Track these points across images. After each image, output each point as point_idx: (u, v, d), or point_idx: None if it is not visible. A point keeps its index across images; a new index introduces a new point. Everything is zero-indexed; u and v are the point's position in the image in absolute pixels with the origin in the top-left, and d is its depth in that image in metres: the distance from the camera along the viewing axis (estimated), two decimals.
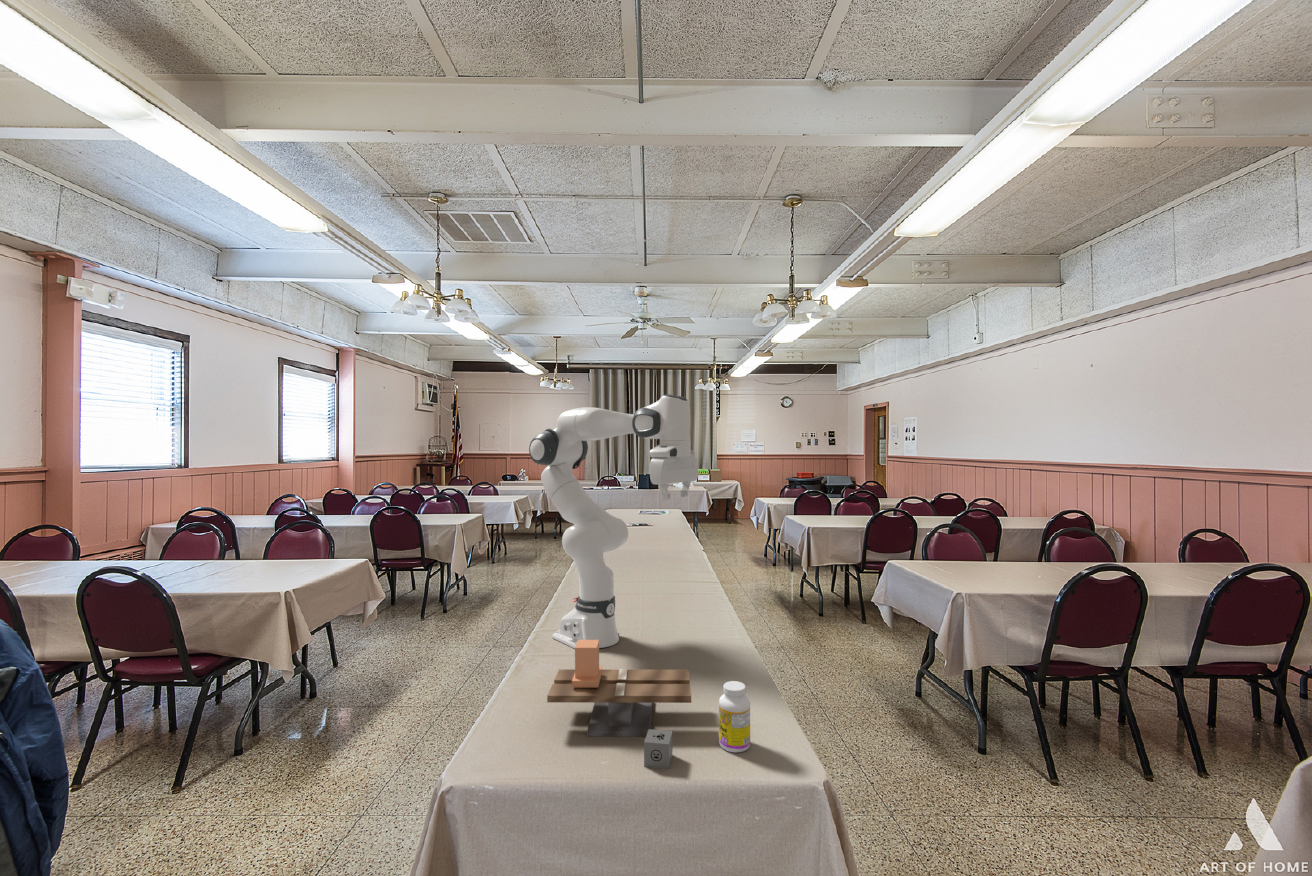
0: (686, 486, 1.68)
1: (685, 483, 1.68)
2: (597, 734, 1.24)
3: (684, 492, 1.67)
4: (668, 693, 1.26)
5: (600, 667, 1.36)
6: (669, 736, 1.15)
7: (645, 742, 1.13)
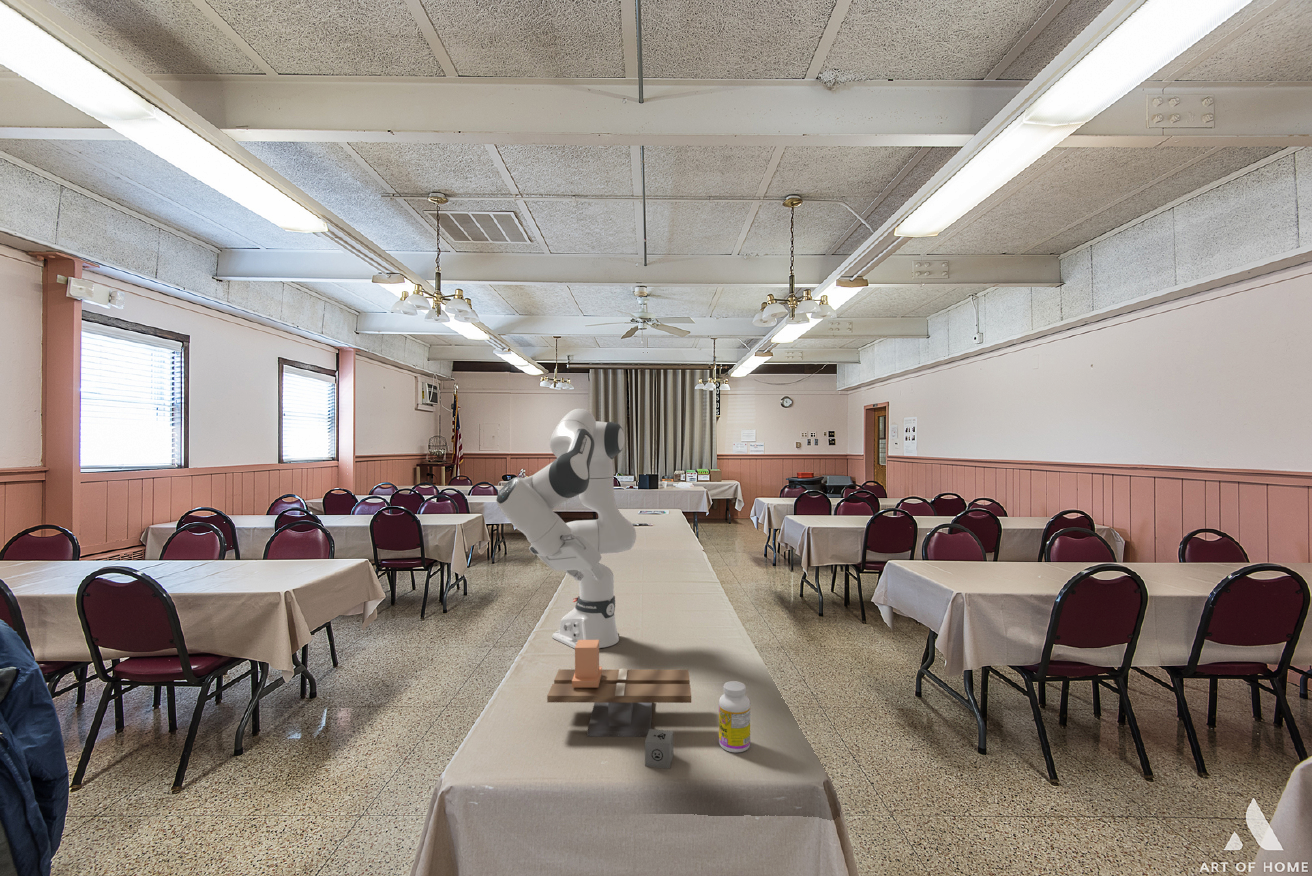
0: None
1: None
2: (597, 734, 1.24)
3: None
4: (668, 693, 1.26)
5: (600, 667, 1.36)
6: (670, 736, 1.15)
7: (646, 742, 1.13)
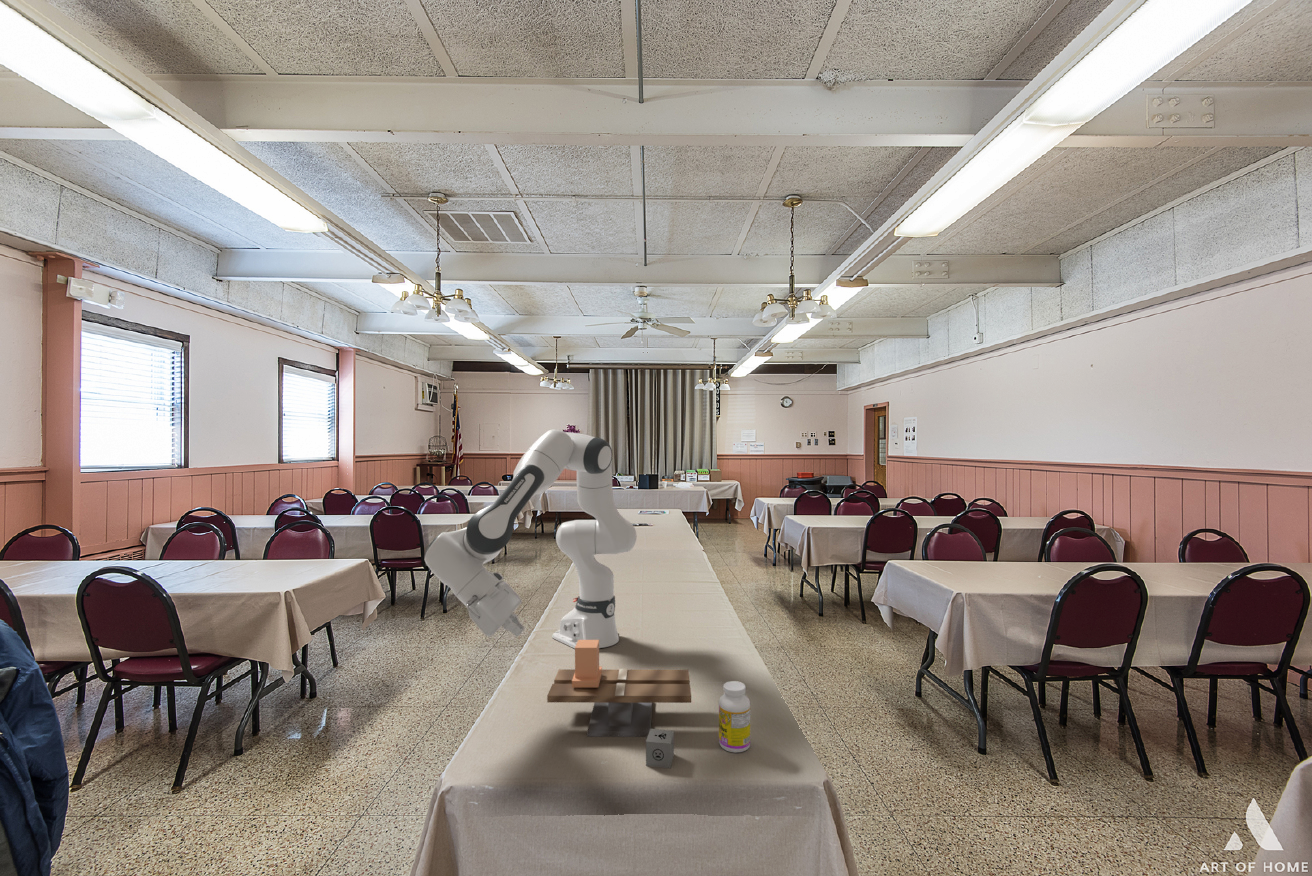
0: None
1: None
2: (597, 734, 1.24)
3: None
4: (668, 693, 1.26)
5: (600, 667, 1.36)
6: (671, 735, 1.15)
7: (647, 741, 1.13)
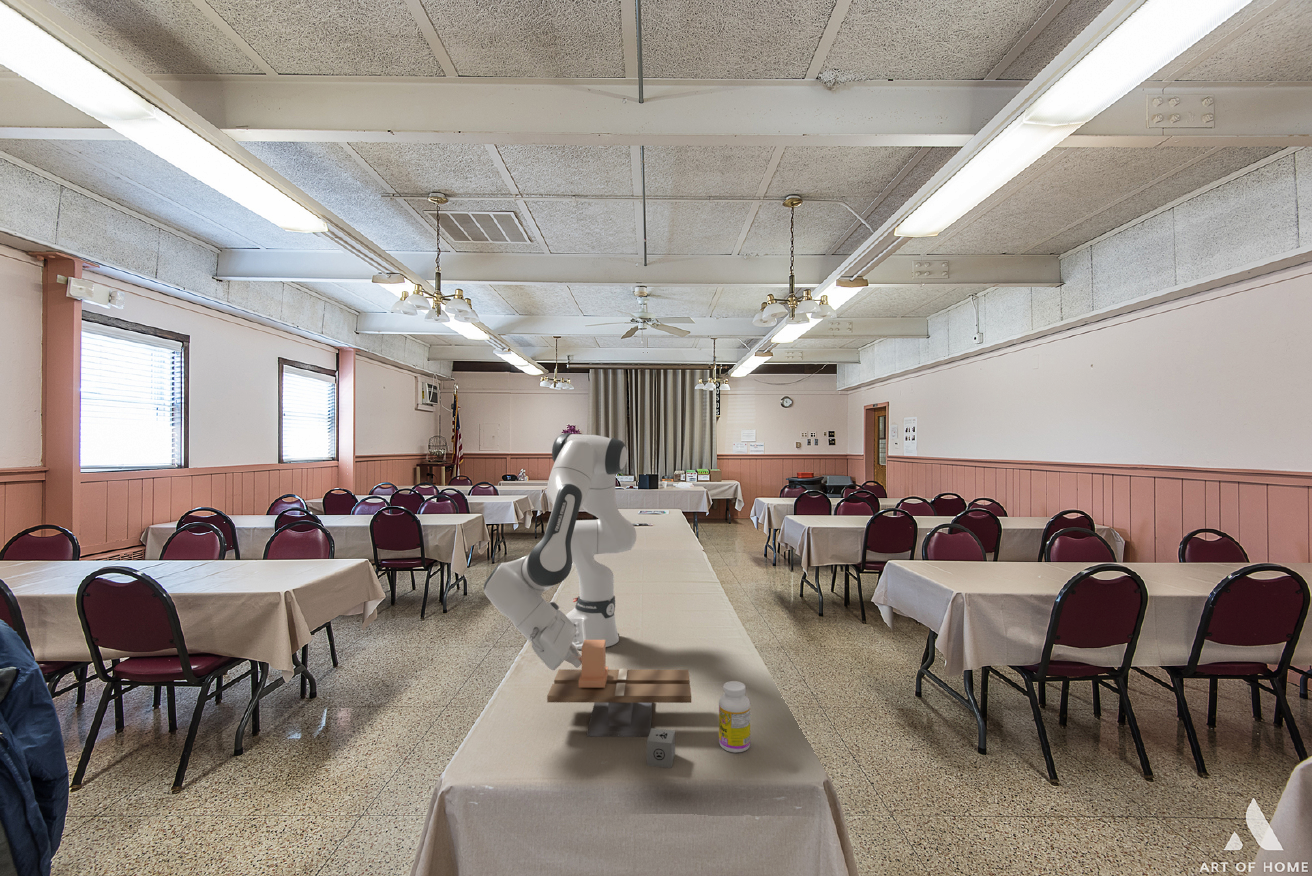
0: None
1: None
2: (597, 734, 1.24)
3: None
4: (668, 693, 1.26)
5: (606, 667, 1.36)
6: (672, 735, 1.15)
7: (648, 741, 1.13)
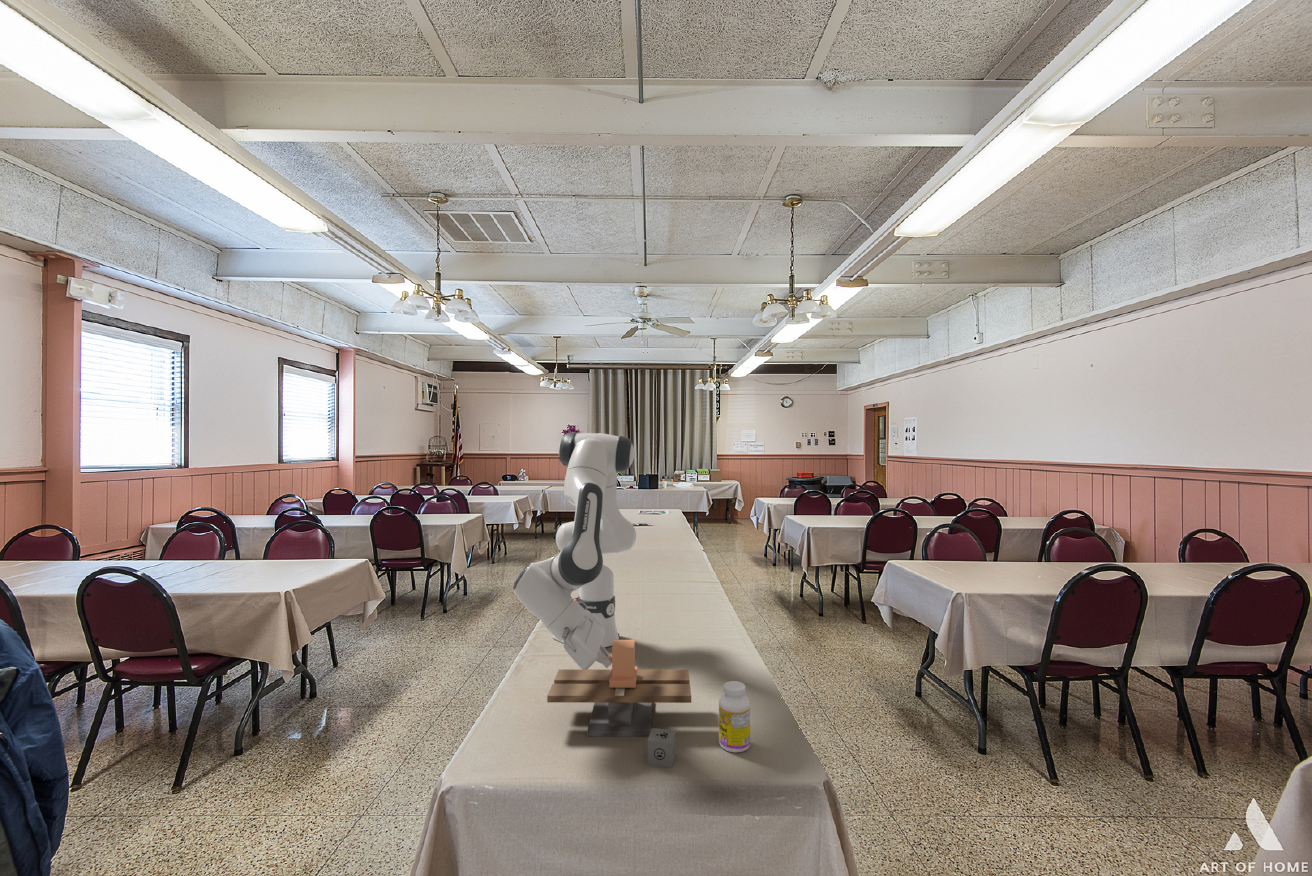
0: None
1: None
2: (597, 734, 1.24)
3: None
4: (668, 693, 1.26)
5: (635, 667, 1.36)
6: (672, 735, 1.16)
7: (648, 741, 1.14)
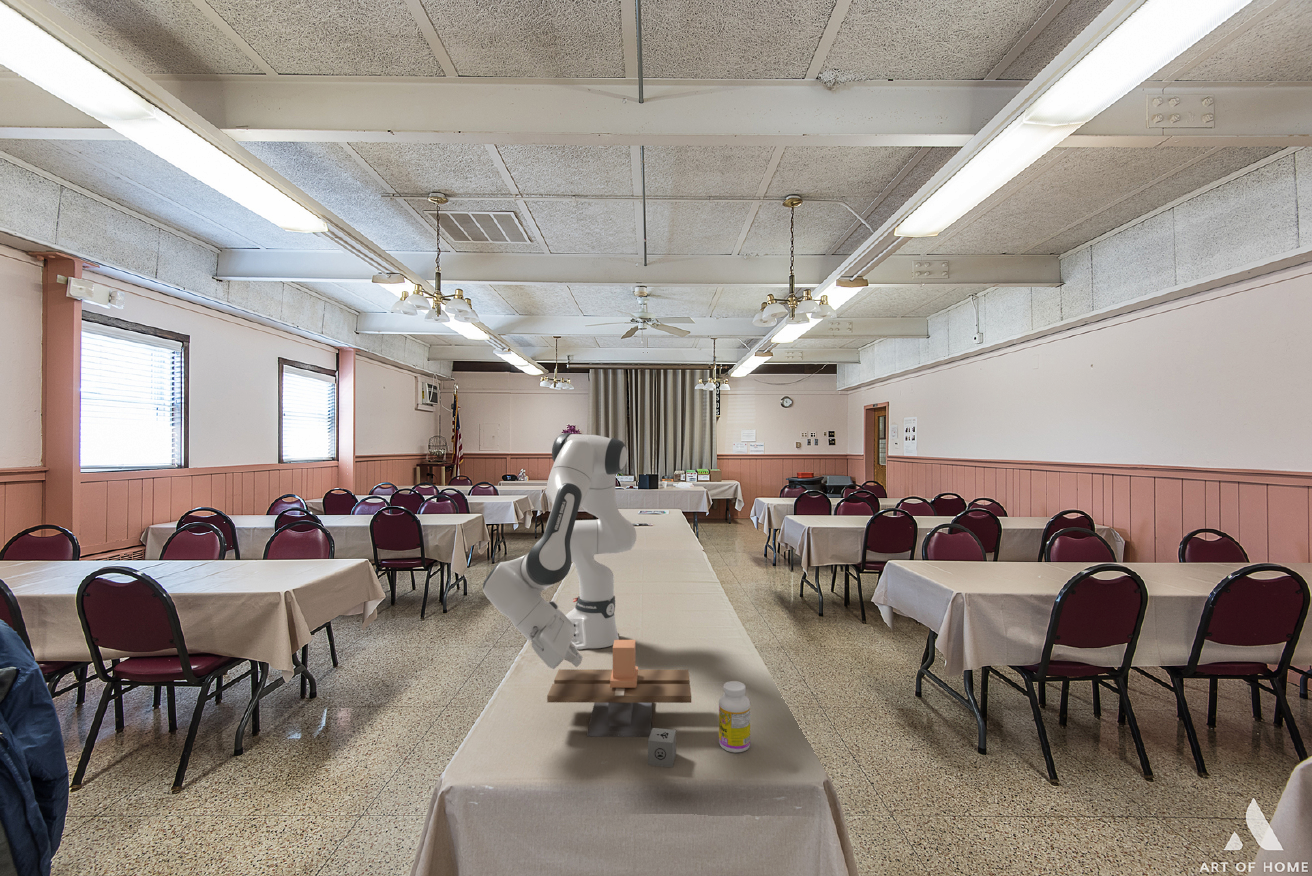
0: None
1: None
2: (597, 734, 1.24)
3: None
4: (668, 693, 1.26)
5: (636, 667, 1.36)
6: (673, 735, 1.16)
7: (649, 741, 1.14)
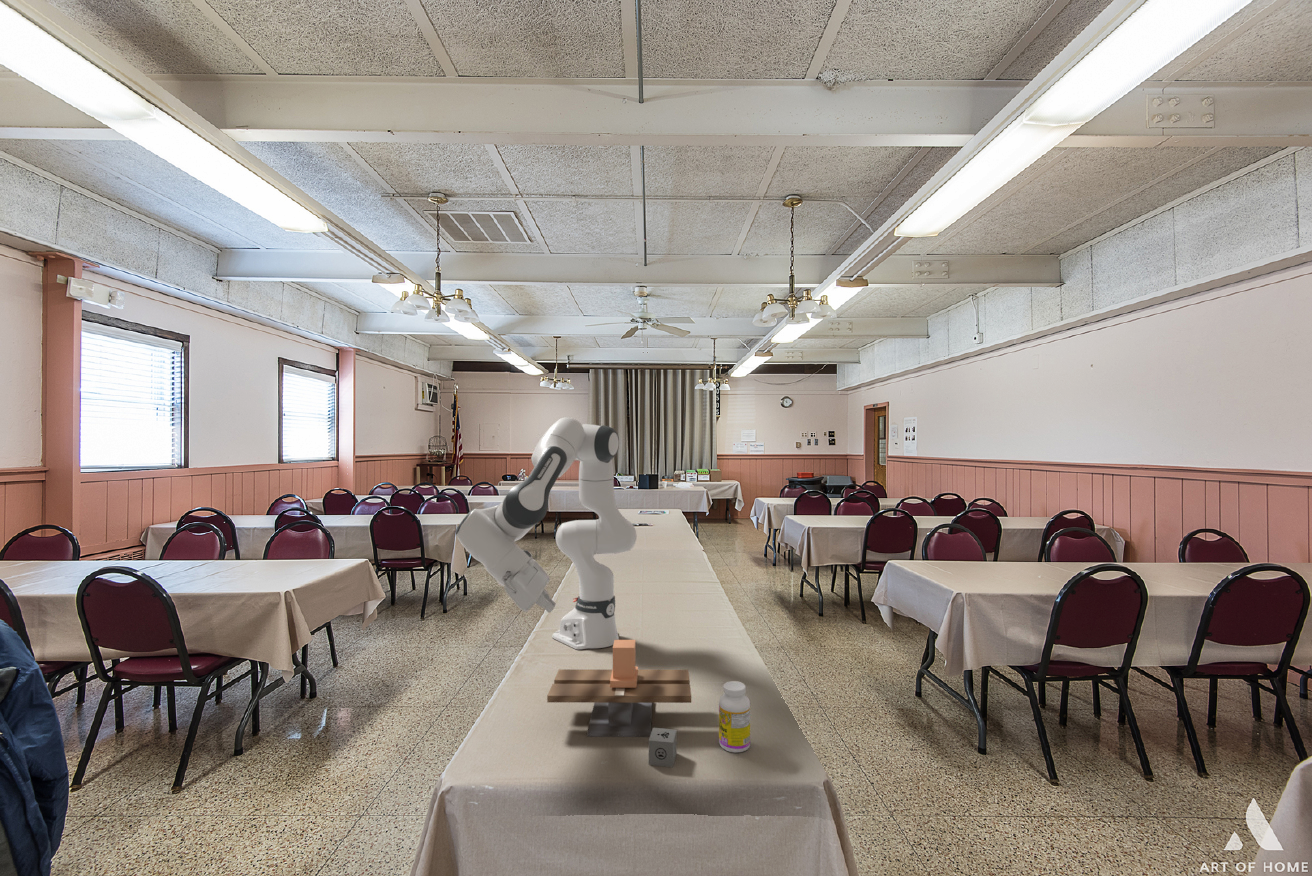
0: None
1: None
2: (597, 734, 1.24)
3: None
4: (668, 693, 1.26)
5: (636, 667, 1.36)
6: (673, 734, 1.16)
7: (650, 740, 1.14)
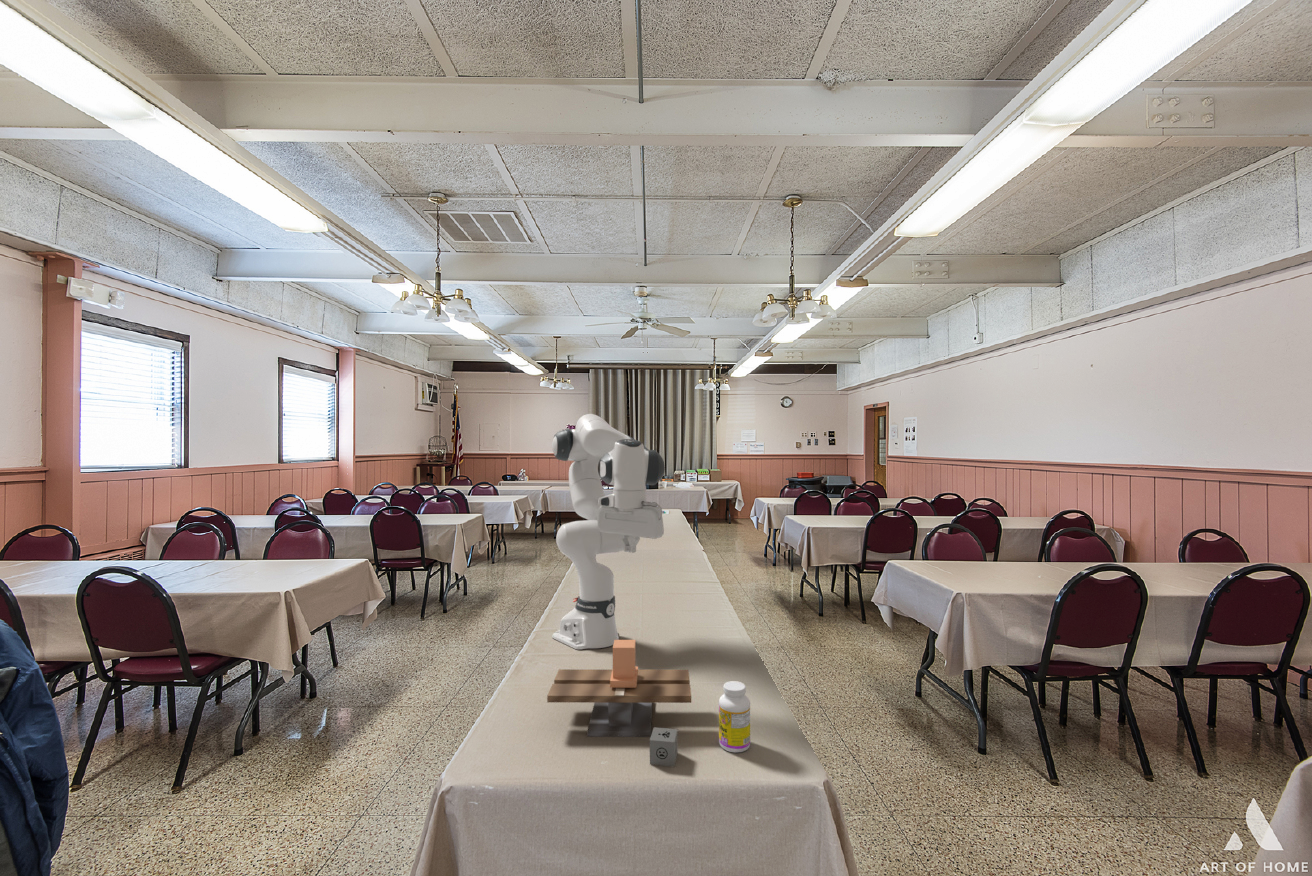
0: None
1: None
2: (597, 734, 1.24)
3: None
4: (668, 693, 1.26)
5: (636, 667, 1.36)
6: (674, 734, 1.16)
7: (651, 740, 1.14)
